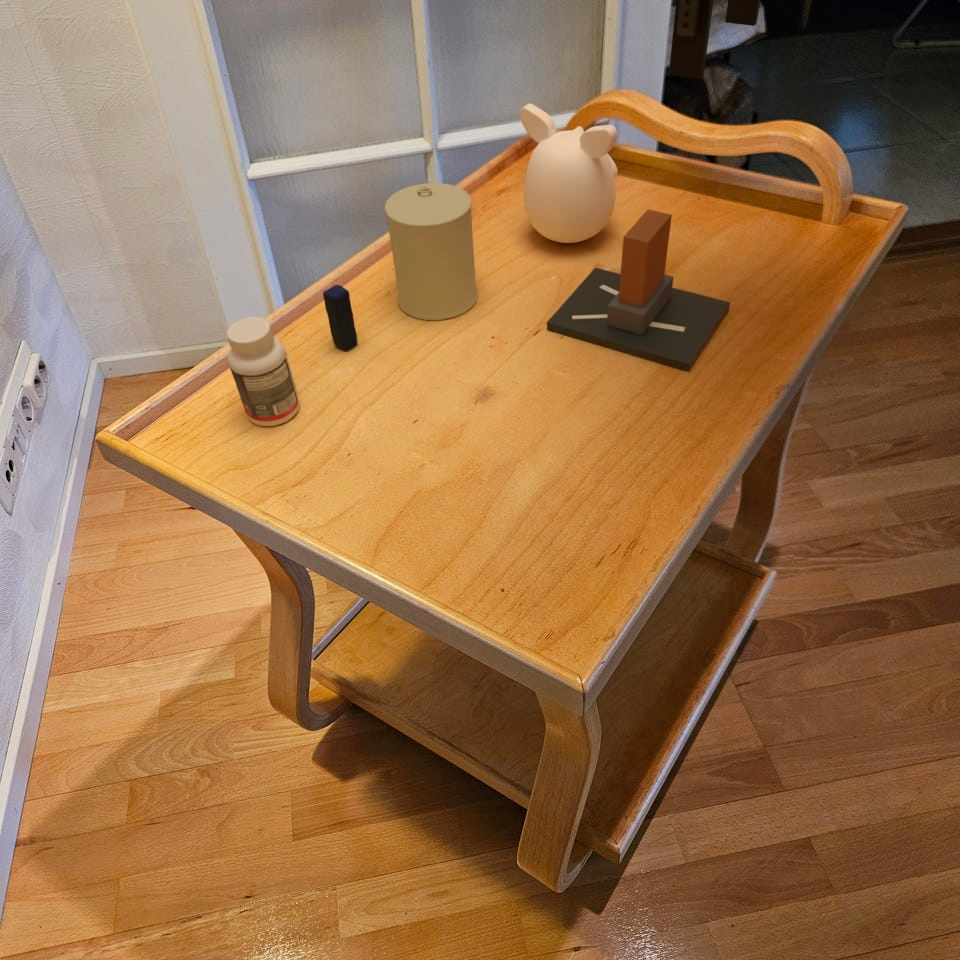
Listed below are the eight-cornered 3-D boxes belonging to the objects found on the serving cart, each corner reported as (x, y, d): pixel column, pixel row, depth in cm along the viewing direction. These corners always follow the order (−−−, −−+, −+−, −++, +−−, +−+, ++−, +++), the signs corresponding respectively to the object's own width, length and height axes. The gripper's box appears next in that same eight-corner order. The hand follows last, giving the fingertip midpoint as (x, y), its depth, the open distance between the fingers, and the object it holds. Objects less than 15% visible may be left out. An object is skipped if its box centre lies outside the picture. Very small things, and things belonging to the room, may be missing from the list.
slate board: (729, 309, 90) (730, 301, 89) (688, 371, 83) (690, 363, 82) (594, 274, 96) (595, 266, 95) (546, 329, 89) (546, 321, 88)
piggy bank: (629, 218, 104) (639, 96, 94) (600, 266, 97) (607, 139, 86) (537, 204, 108) (537, 85, 98) (503, 248, 101) (498, 125, 90)
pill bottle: (245, 398, 84) (218, 317, 77) (298, 388, 84) (276, 307, 77) (247, 433, 80) (219, 351, 73) (303, 422, 81) (280, 340, 74)
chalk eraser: (671, 296, 90) (682, 211, 83) (641, 335, 86) (651, 249, 79) (637, 287, 92) (645, 203, 85) (606, 325, 87) (612, 239, 80)
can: (468, 269, 98) (461, 172, 90) (486, 312, 92) (480, 212, 83) (392, 282, 97) (377, 185, 89) (404, 327, 91) (390, 227, 82)
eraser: (332, 345, 89) (320, 291, 84) (348, 336, 90) (337, 282, 85) (344, 353, 88) (333, 299, 83) (360, 344, 89) (350, 289, 84)
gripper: (763, -300, 65) (722, -1, 80) (636, -264, 51) (614, 93, 66) (862, -304, 62) (800, 8, 77) (757, -266, 48) (705, 108, 63)
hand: (714, 48), depth 72 cm, fingers open, 13 cm apart
